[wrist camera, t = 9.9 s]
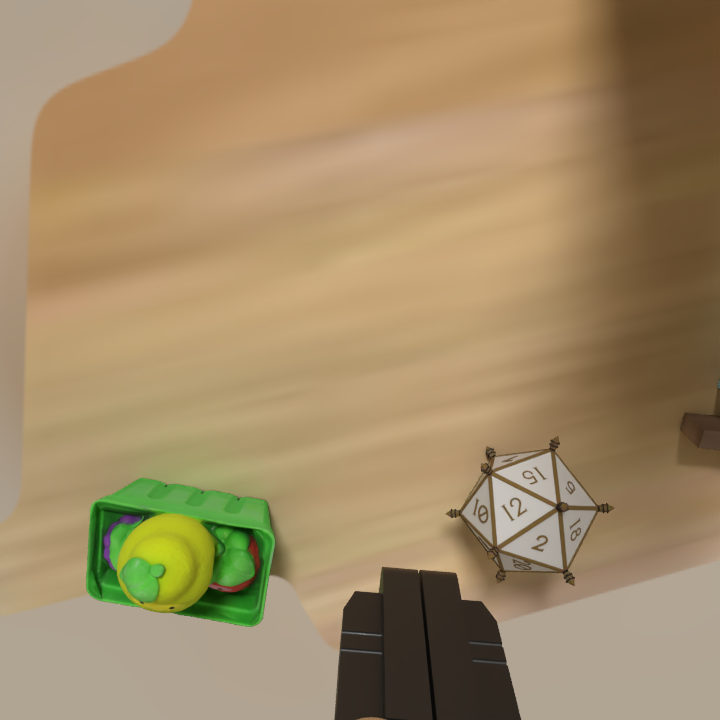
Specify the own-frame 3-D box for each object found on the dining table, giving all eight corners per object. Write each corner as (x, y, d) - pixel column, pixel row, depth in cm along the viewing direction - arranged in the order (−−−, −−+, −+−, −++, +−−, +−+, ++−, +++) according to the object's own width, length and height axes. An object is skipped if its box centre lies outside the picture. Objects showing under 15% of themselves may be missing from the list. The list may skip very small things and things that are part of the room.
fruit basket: (115, 550, 45) (35, 679, 35) (122, 441, 42) (37, 545, 32) (272, 577, 46) (241, 712, 35) (291, 471, 43) (262, 583, 32)
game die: (527, 462, 46) (611, 589, 40) (422, 501, 44) (494, 641, 38) (558, 385, 39) (665, 524, 33) (435, 426, 37) (526, 583, 31)
